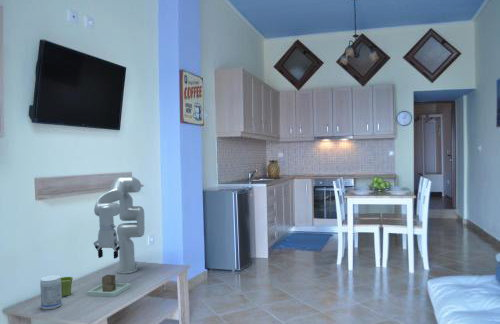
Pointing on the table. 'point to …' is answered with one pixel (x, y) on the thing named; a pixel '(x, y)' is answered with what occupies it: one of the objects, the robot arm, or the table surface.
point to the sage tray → (99, 292)
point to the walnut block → (108, 283)
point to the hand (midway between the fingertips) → (108, 257)
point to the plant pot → (66, 285)
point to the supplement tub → (51, 292)
